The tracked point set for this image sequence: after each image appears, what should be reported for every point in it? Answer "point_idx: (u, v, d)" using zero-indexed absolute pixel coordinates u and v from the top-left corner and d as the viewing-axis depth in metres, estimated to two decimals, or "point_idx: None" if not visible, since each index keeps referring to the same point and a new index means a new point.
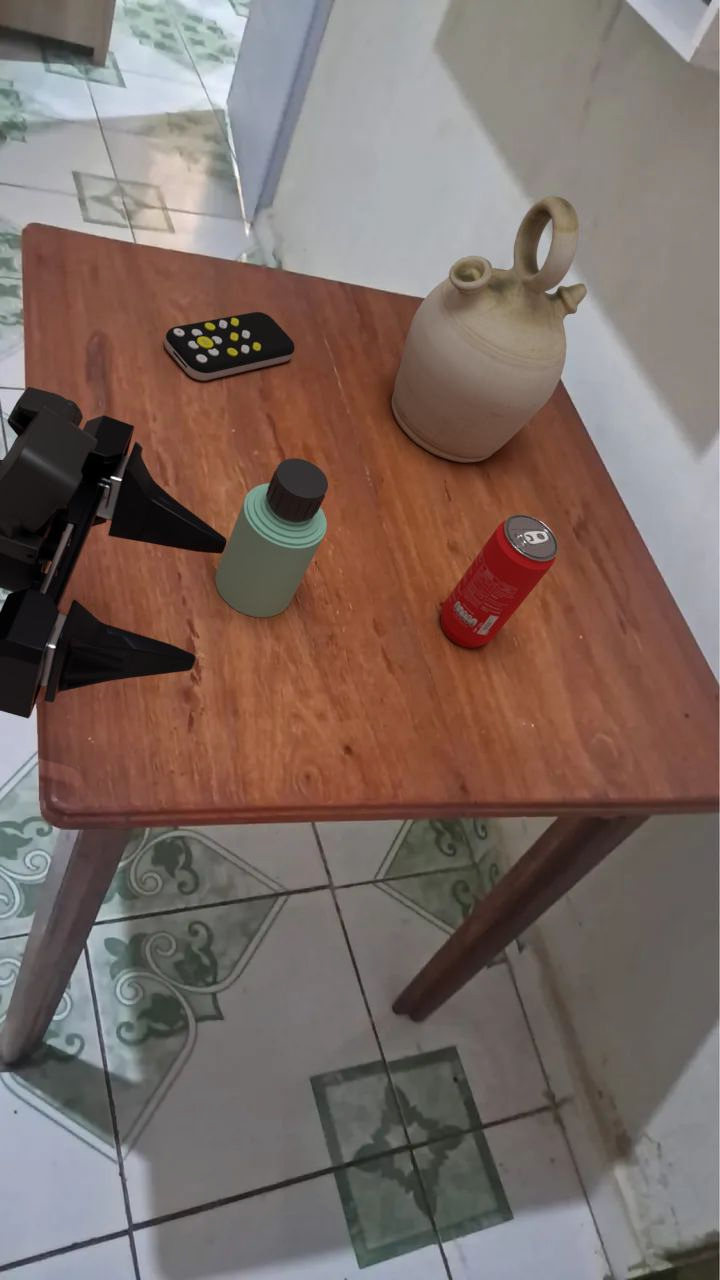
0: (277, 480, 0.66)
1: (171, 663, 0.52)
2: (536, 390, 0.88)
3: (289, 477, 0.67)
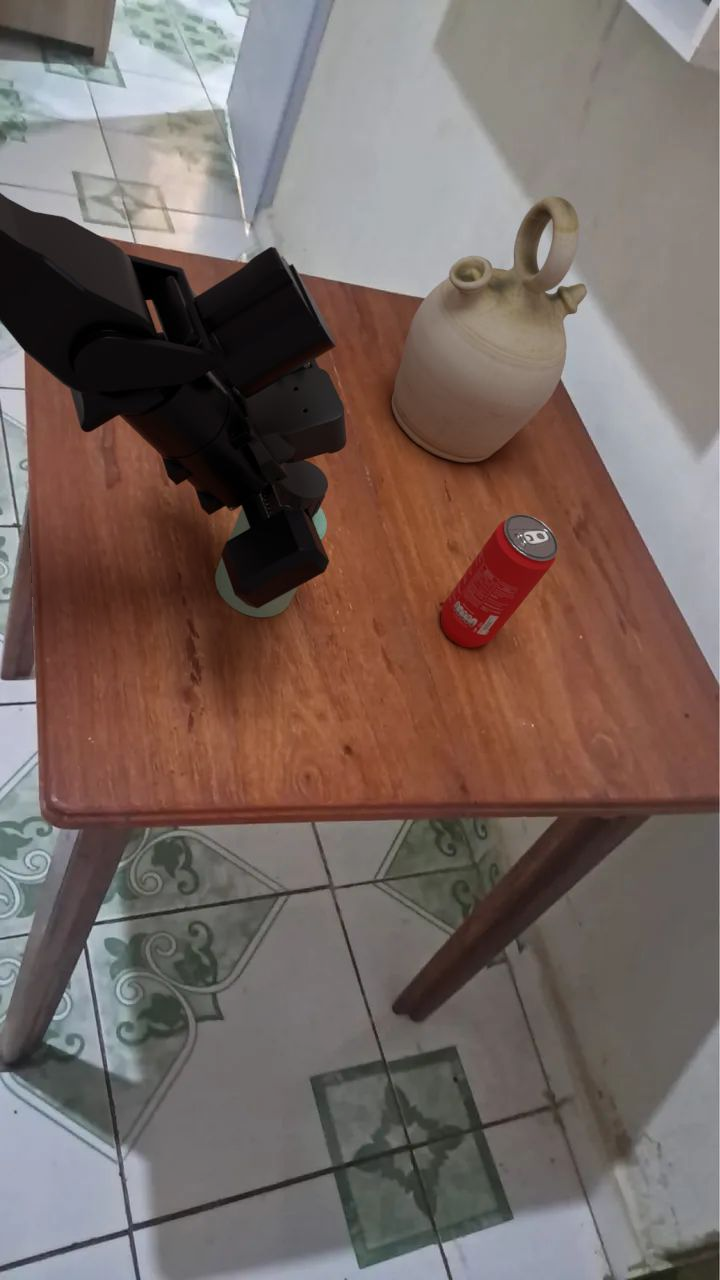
0: None
1: None
2: (536, 390, 0.88)
3: (289, 477, 0.67)
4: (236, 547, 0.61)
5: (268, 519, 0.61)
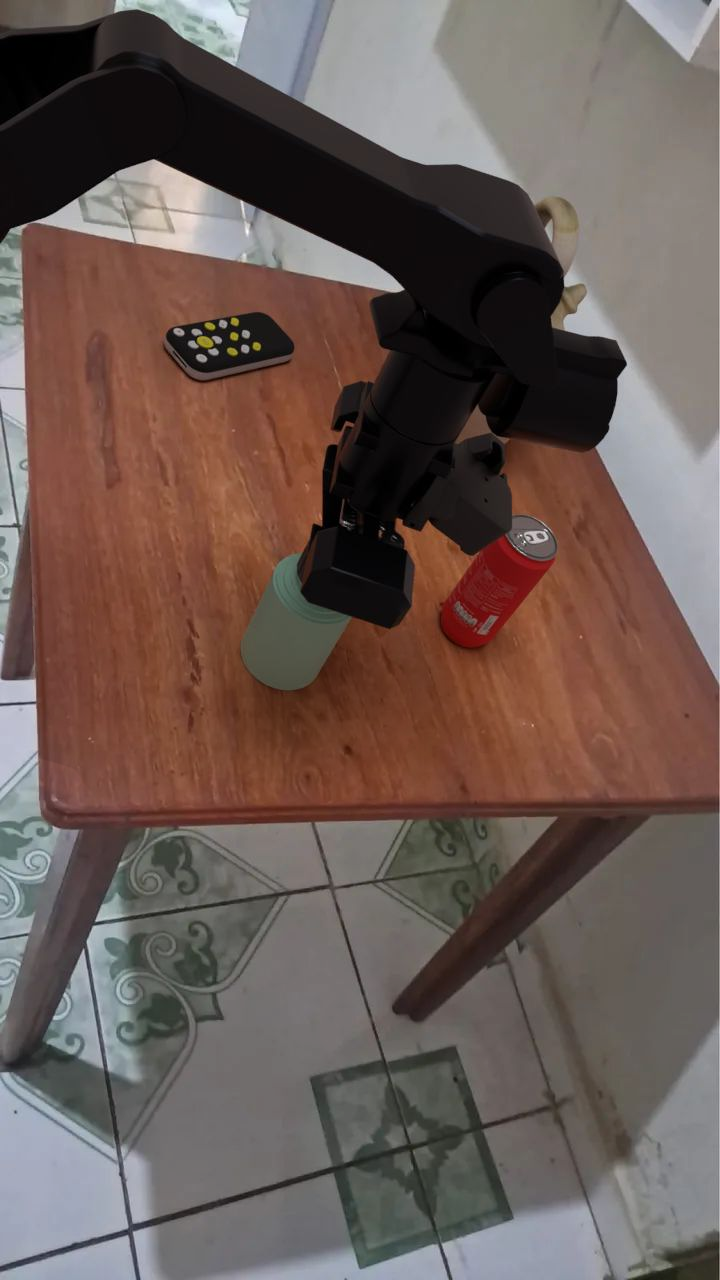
0: (307, 550, 0.64)
1: None
2: None
3: None
4: (344, 538, 0.54)
5: (388, 545, 0.55)
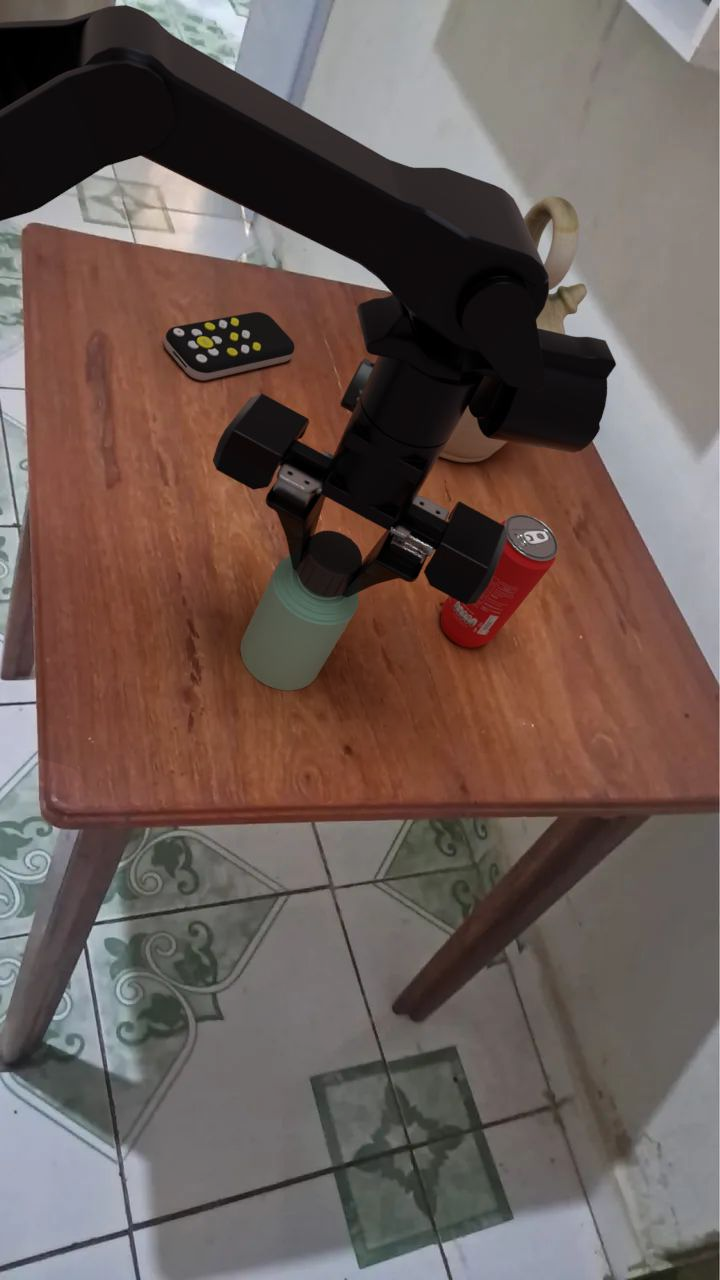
0: (332, 574, 0.63)
1: None
2: None
3: (333, 562, 0.63)
4: (454, 543, 0.58)
5: (456, 512, 0.60)
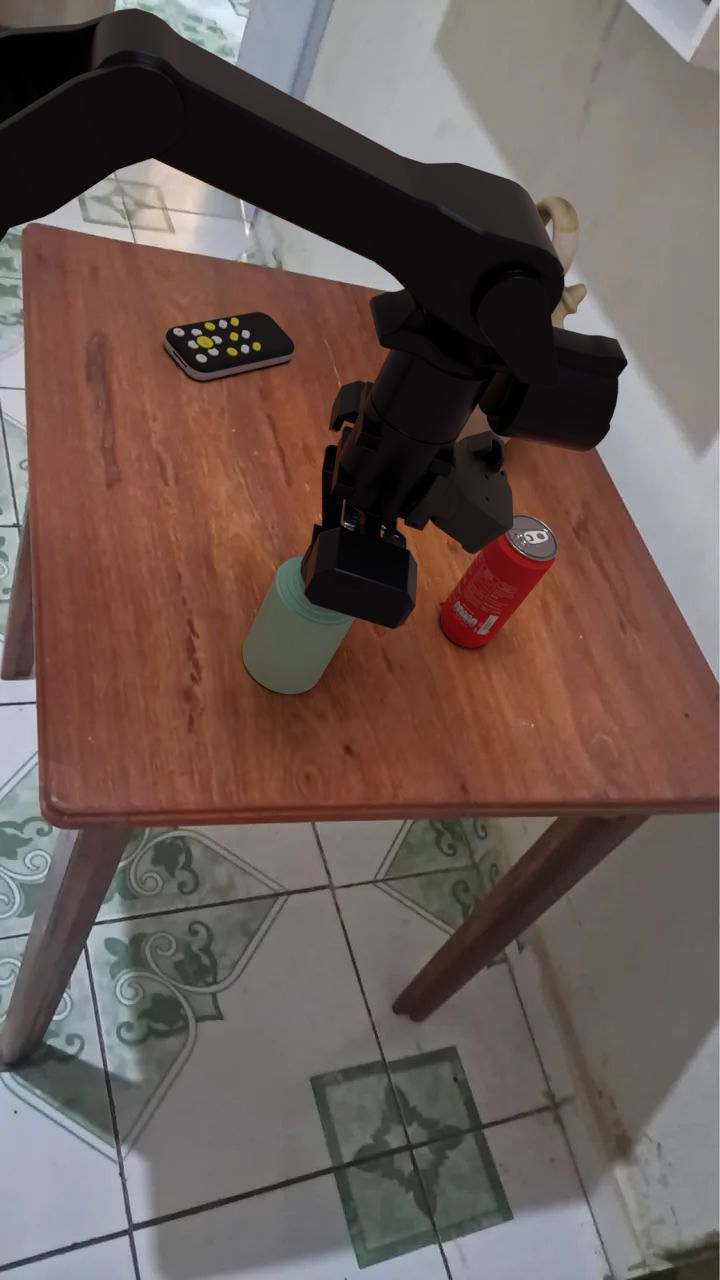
0: None
1: None
2: None
3: None
4: (347, 539, 0.54)
5: (391, 545, 0.55)
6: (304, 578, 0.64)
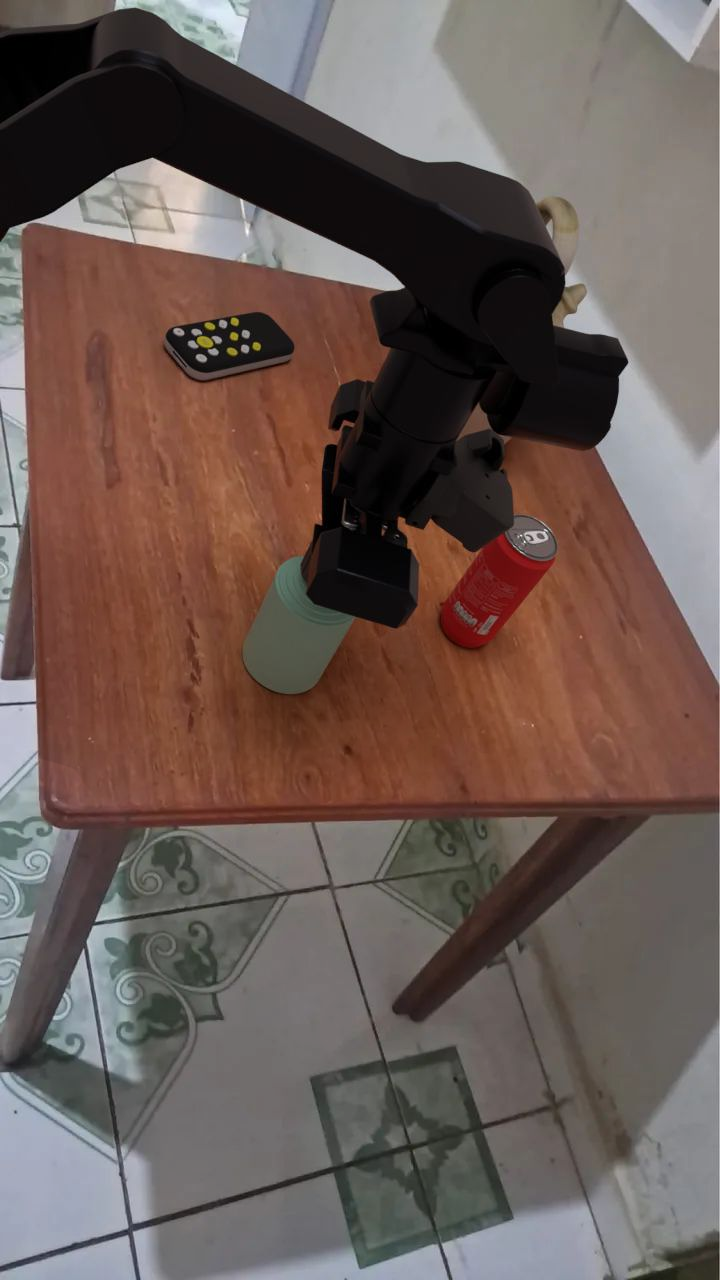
0: None
1: None
2: None
3: None
4: (349, 539, 0.54)
5: (392, 544, 0.55)
6: None
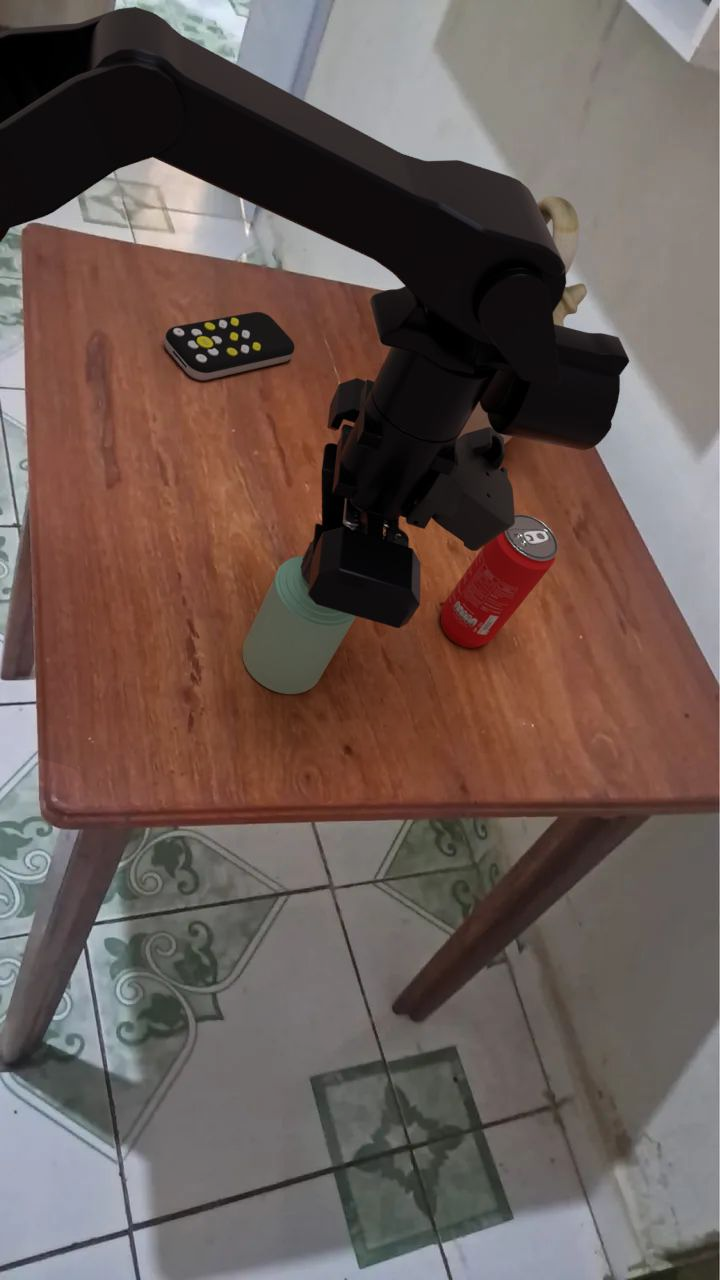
0: None
1: None
2: None
3: None
4: (350, 539, 0.54)
5: (394, 544, 0.55)
6: None
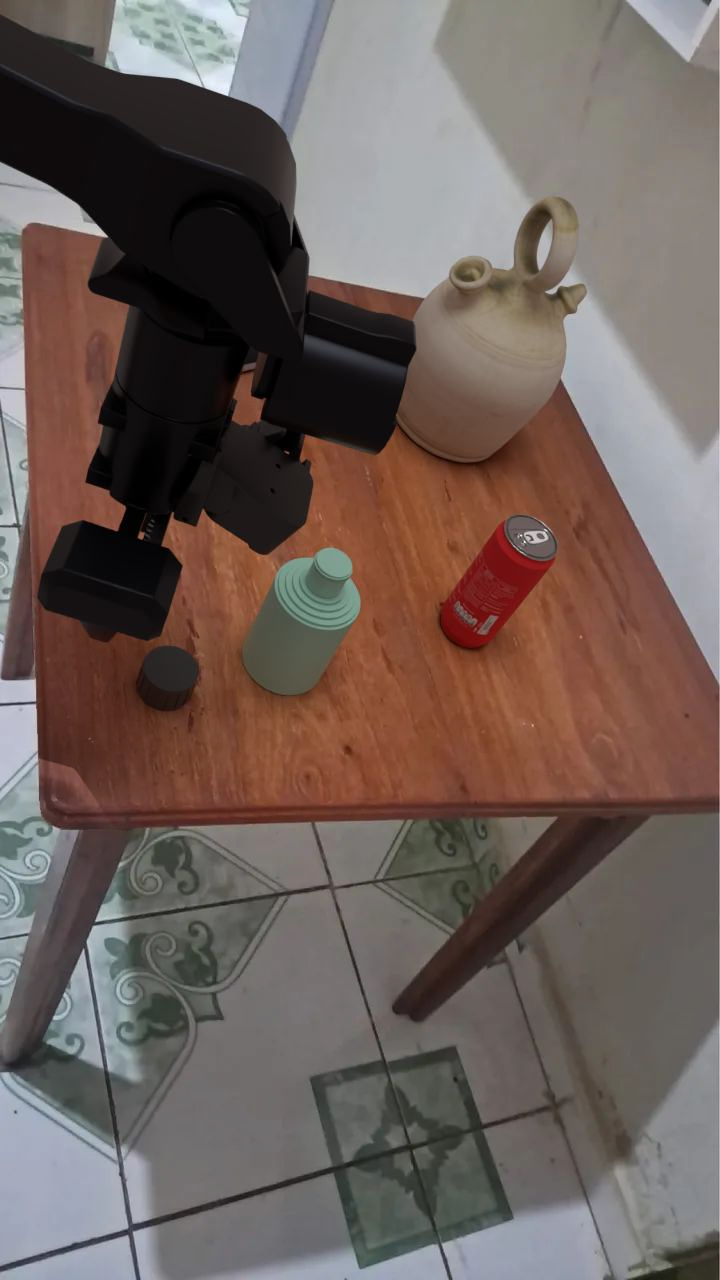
0: (144, 673, 0.65)
1: (101, 634, 0.54)
2: (536, 390, 0.88)
3: (157, 669, 0.65)
4: (89, 535, 0.46)
5: (145, 542, 0.47)
6: None
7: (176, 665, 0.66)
